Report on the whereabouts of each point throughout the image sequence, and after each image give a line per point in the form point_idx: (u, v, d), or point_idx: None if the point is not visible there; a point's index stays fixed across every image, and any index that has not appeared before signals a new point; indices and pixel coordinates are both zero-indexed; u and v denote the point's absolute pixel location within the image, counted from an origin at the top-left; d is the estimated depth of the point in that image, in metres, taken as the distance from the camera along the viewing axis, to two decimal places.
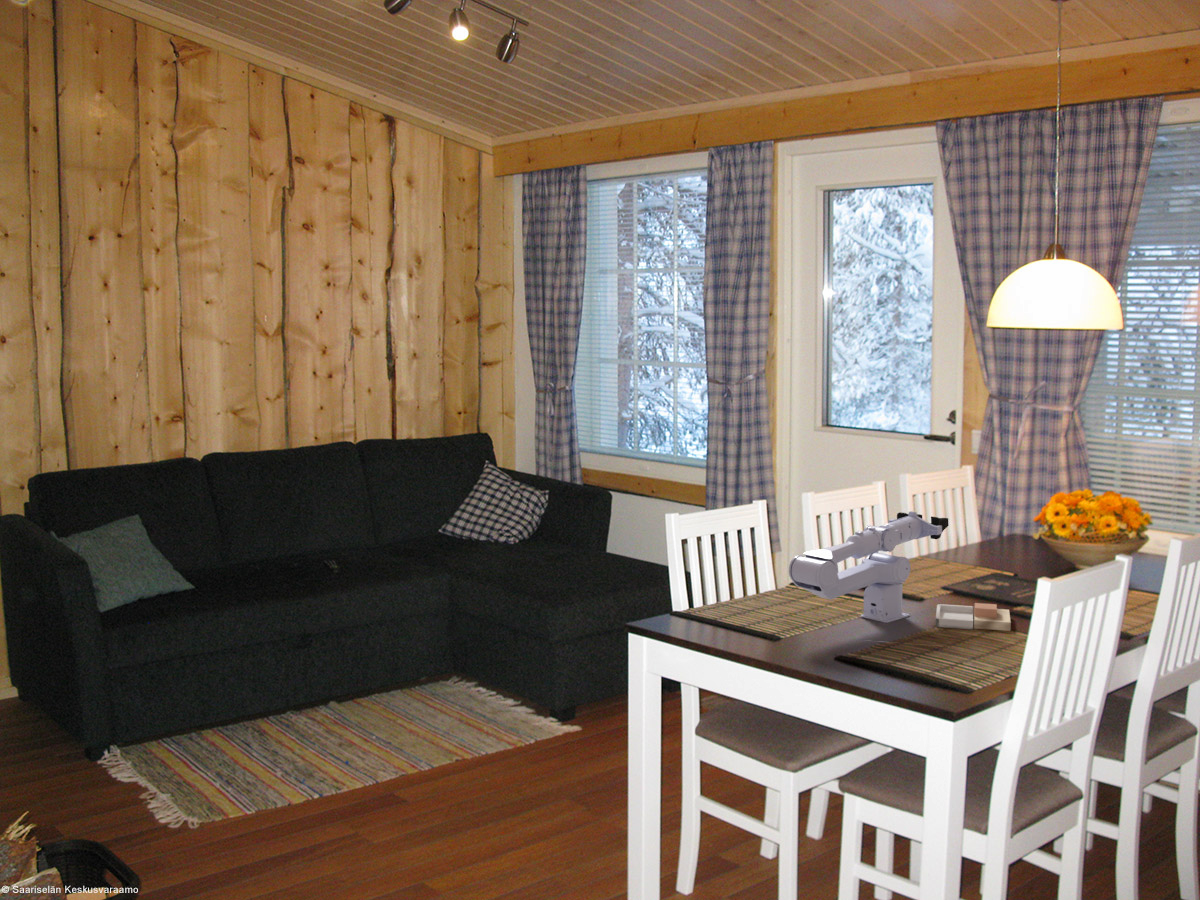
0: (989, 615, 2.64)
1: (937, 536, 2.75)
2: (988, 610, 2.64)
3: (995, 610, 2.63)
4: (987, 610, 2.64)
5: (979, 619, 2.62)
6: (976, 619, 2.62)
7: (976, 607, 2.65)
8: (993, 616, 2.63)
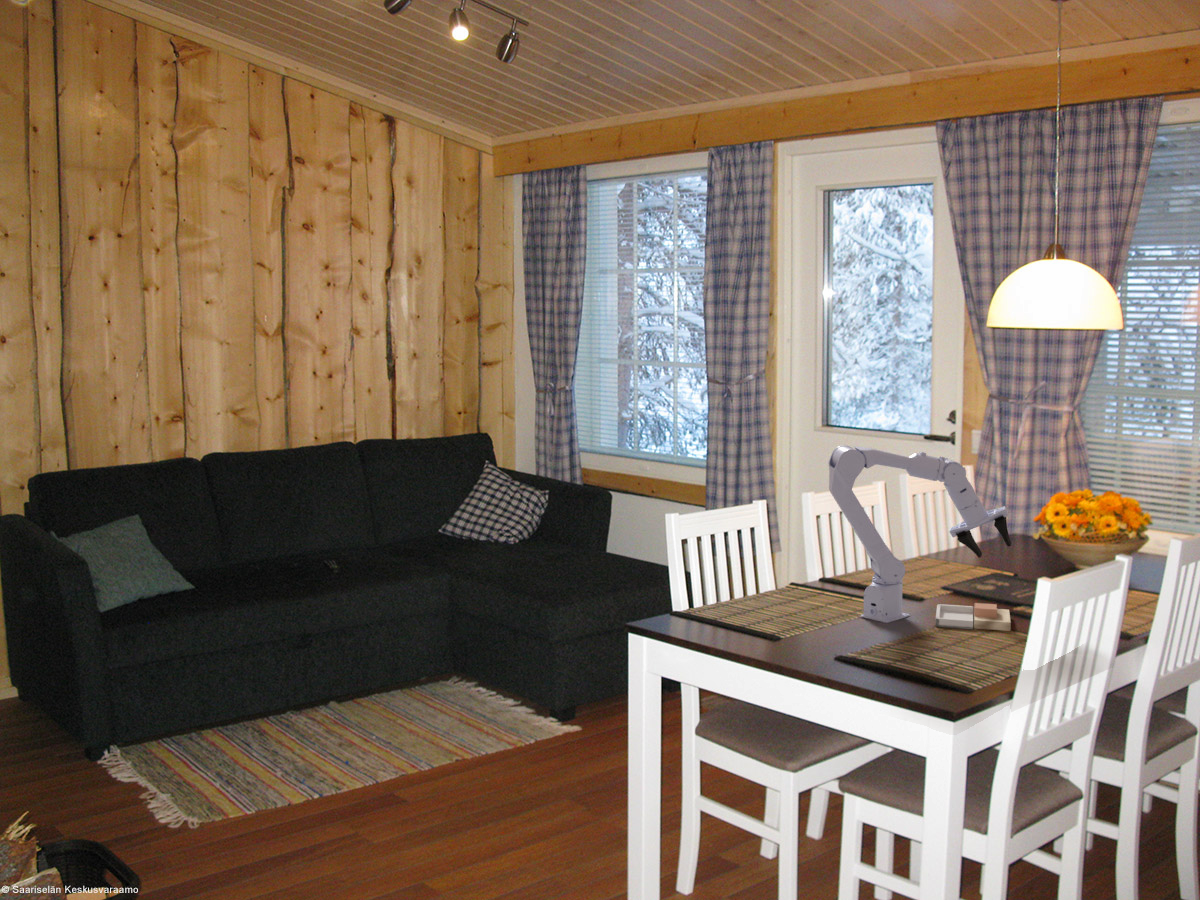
0: (989, 615, 2.64)
1: (1002, 520, 2.67)
2: (988, 610, 2.64)
3: (995, 610, 2.63)
4: (987, 610, 2.64)
5: (979, 619, 2.62)
6: (976, 619, 2.62)
7: (976, 607, 2.65)
8: (993, 616, 2.63)
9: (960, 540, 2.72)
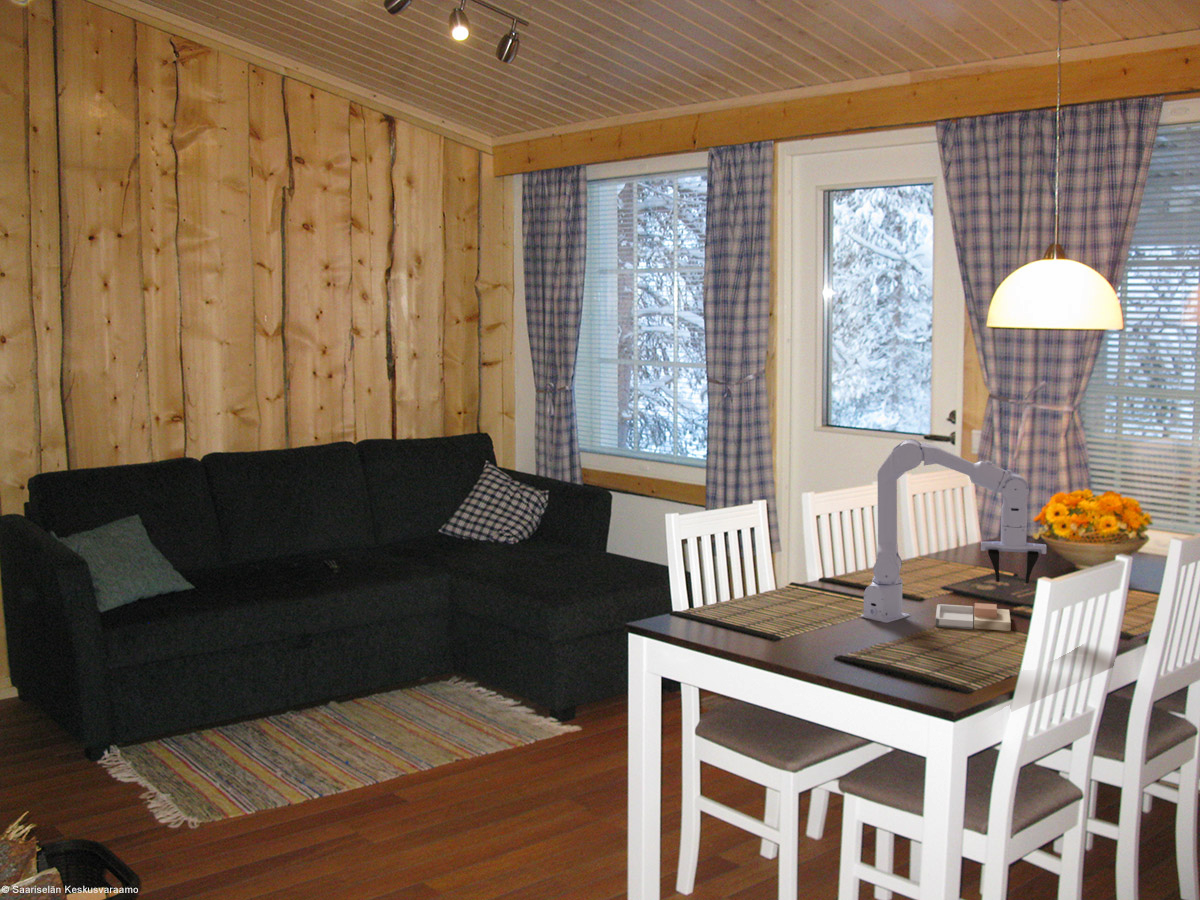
0: (989, 615, 2.64)
1: (1036, 555, 2.59)
2: (988, 610, 2.64)
3: (995, 610, 2.63)
4: (987, 610, 2.64)
5: (979, 619, 2.62)
6: (976, 619, 2.62)
7: (976, 607, 2.65)
8: (993, 616, 2.63)
9: (991, 556, 2.62)
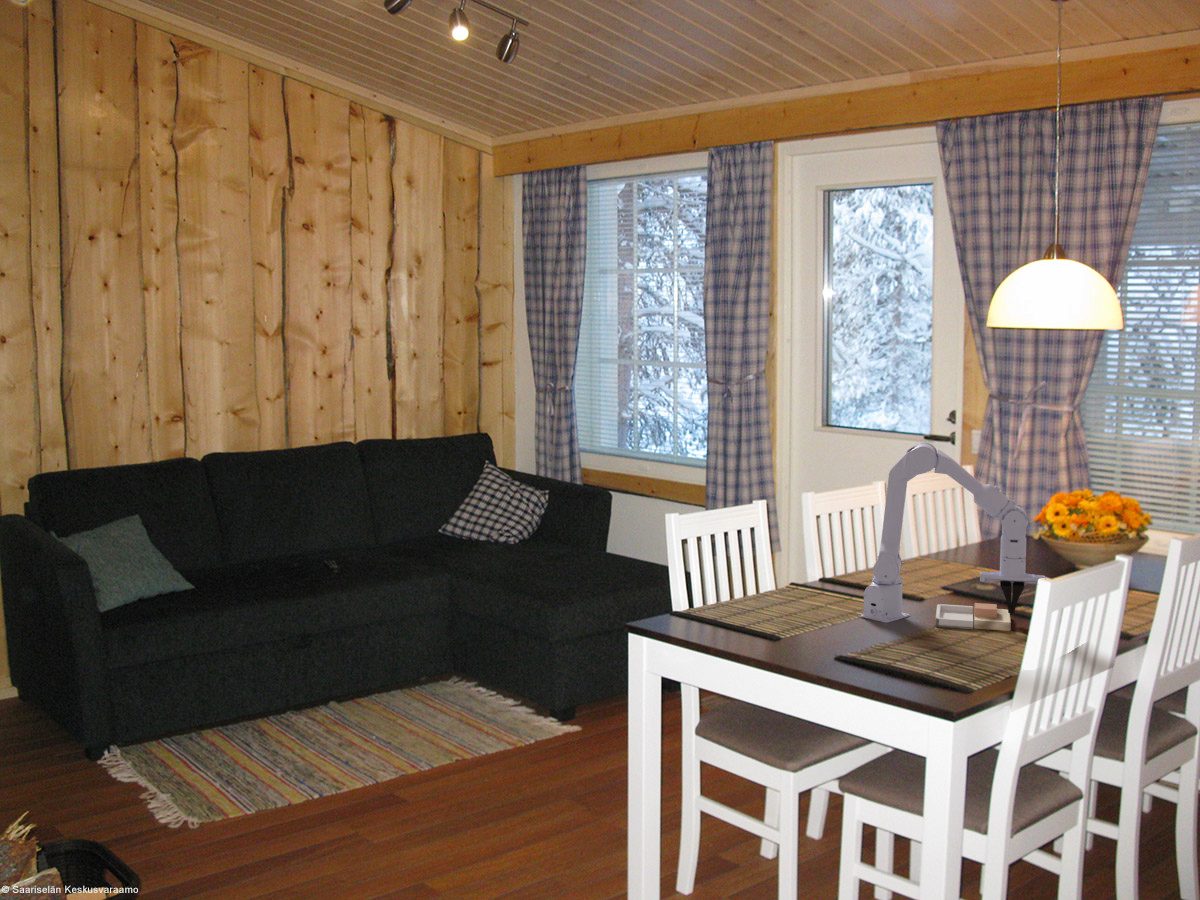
0: (989, 615, 2.64)
1: (1022, 585, 2.61)
2: (988, 610, 2.64)
3: (995, 610, 2.63)
4: (987, 610, 2.64)
5: (979, 619, 2.62)
6: (976, 619, 2.62)
7: (976, 607, 2.65)
8: (993, 616, 2.63)
9: (1003, 587, 2.62)
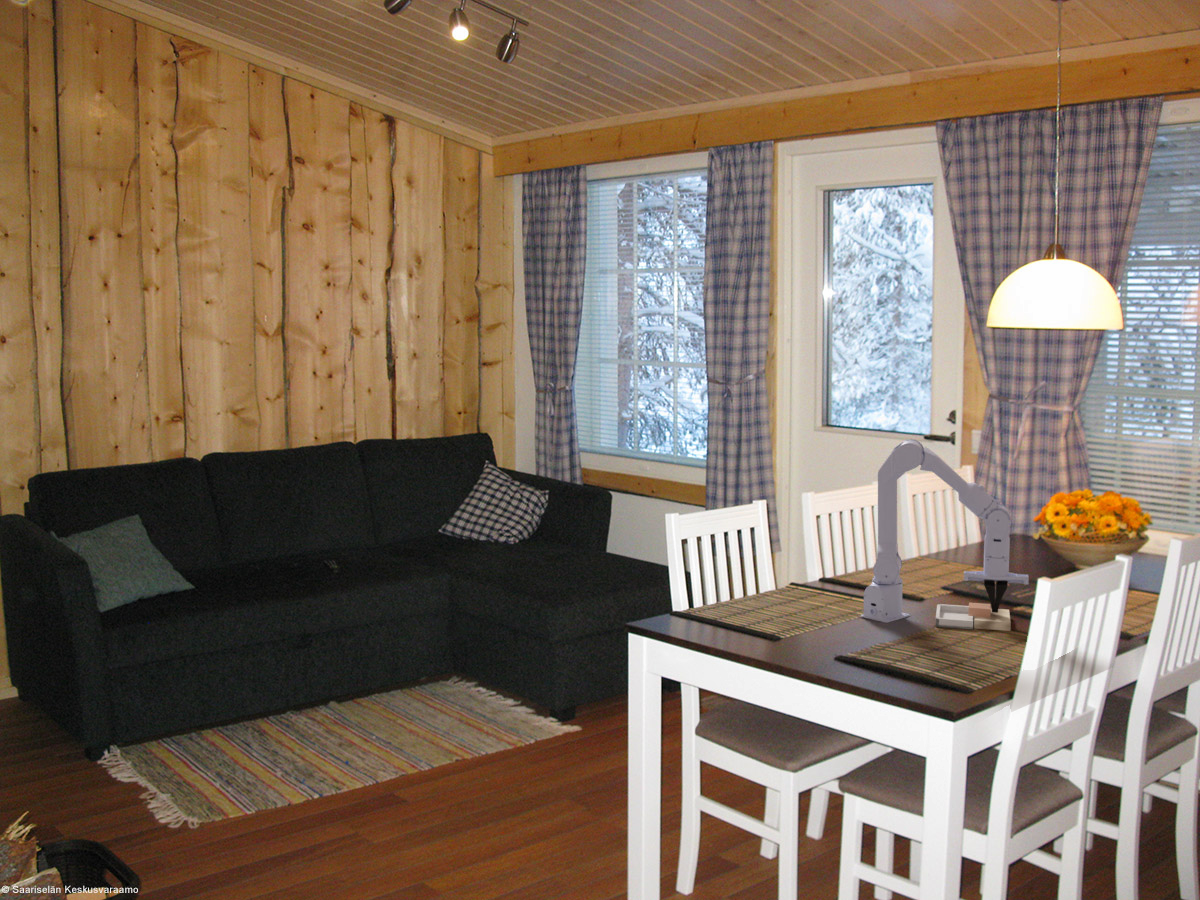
0: (983, 615, 2.64)
1: (1005, 584, 2.62)
2: (982, 610, 2.64)
3: (989, 610, 2.64)
4: (981, 610, 2.64)
5: (979, 619, 2.62)
6: (976, 619, 2.62)
7: (970, 607, 2.66)
8: (987, 616, 2.64)
9: (987, 587, 2.63)
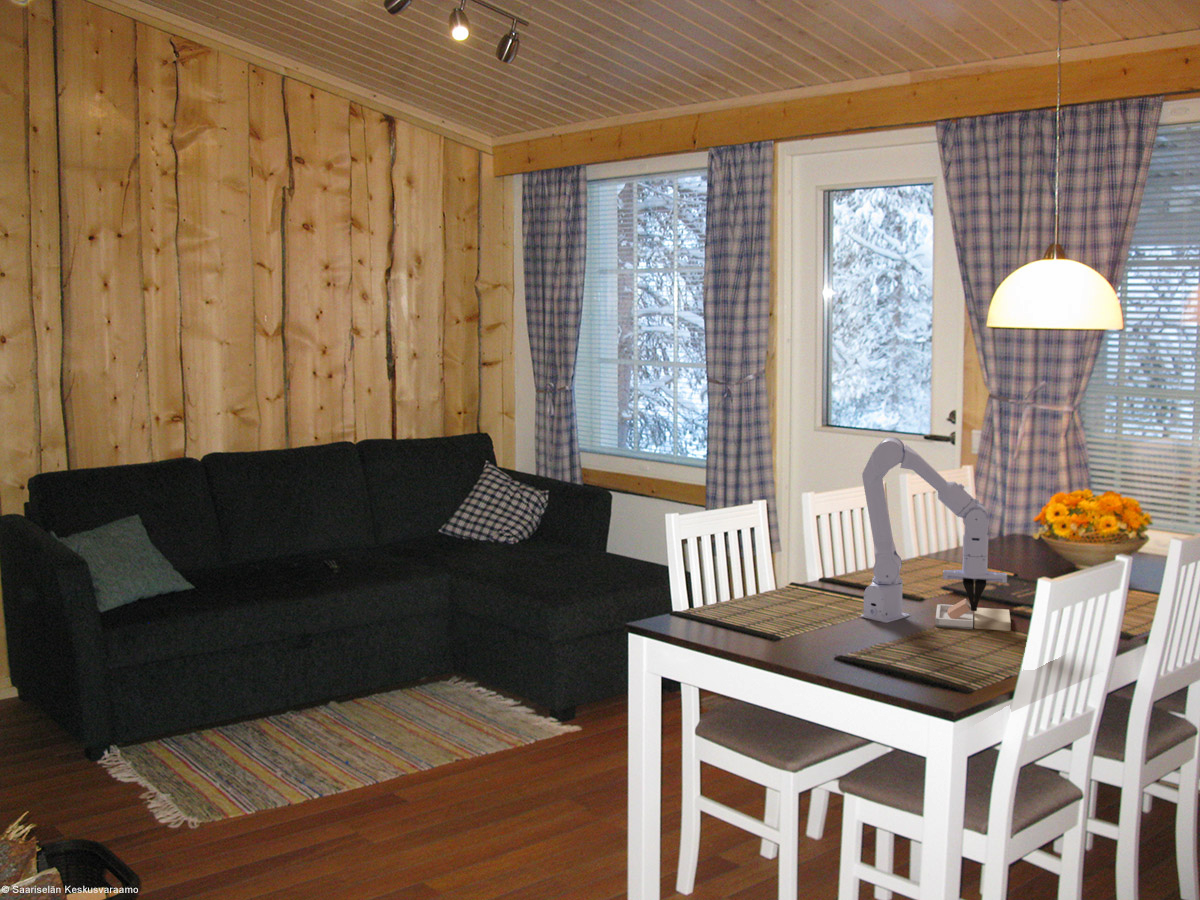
0: (963, 612, 2.65)
1: (984, 583, 2.64)
2: (959, 608, 2.66)
3: (965, 604, 2.65)
4: (958, 609, 2.66)
5: (979, 619, 2.62)
6: (976, 619, 2.62)
7: (949, 612, 2.67)
8: (967, 610, 2.65)
9: (966, 585, 2.64)
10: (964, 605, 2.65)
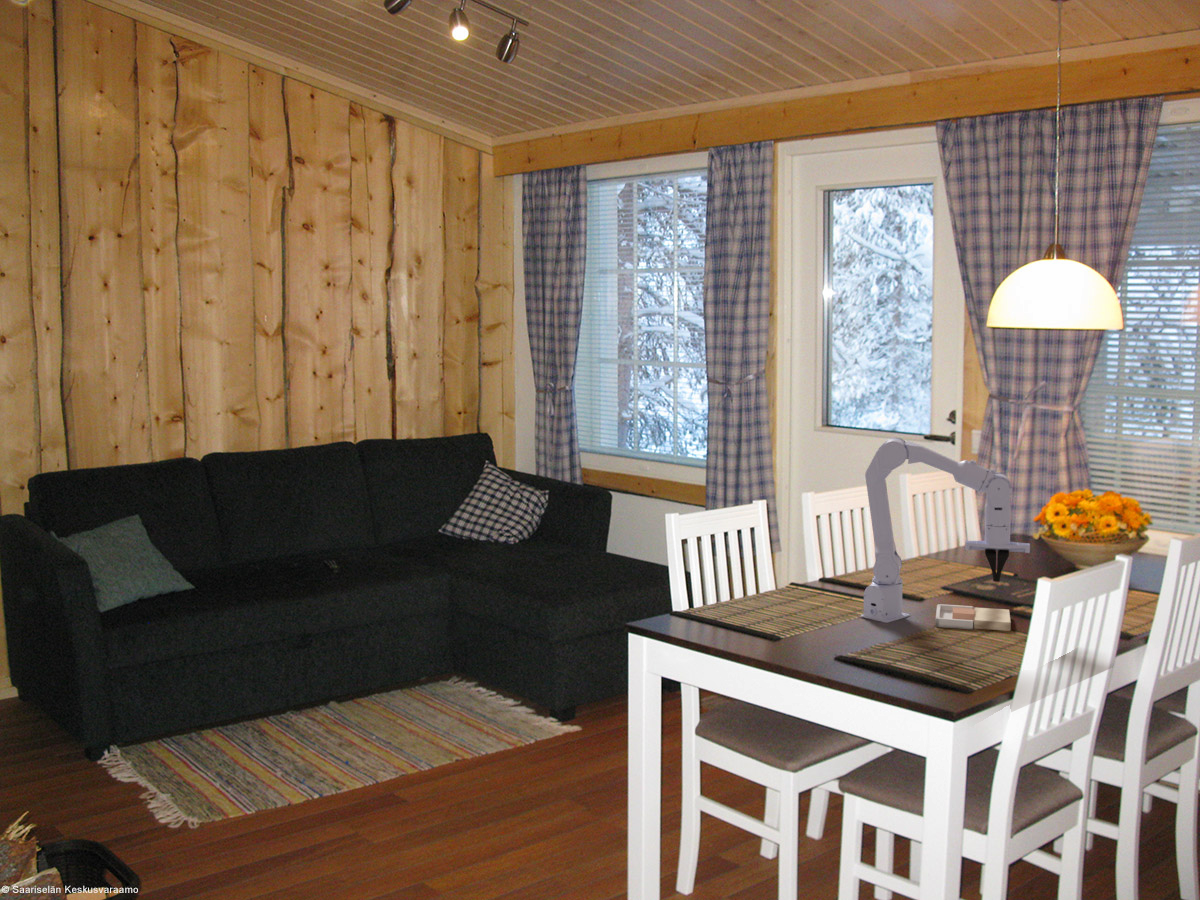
0: None
1: (1007, 553, 2.61)
2: (966, 615, 2.65)
3: (973, 615, 2.65)
4: (965, 615, 2.65)
5: (979, 619, 2.62)
6: (976, 619, 2.62)
7: (954, 612, 2.67)
8: None
9: (988, 555, 2.62)
10: (972, 615, 2.65)
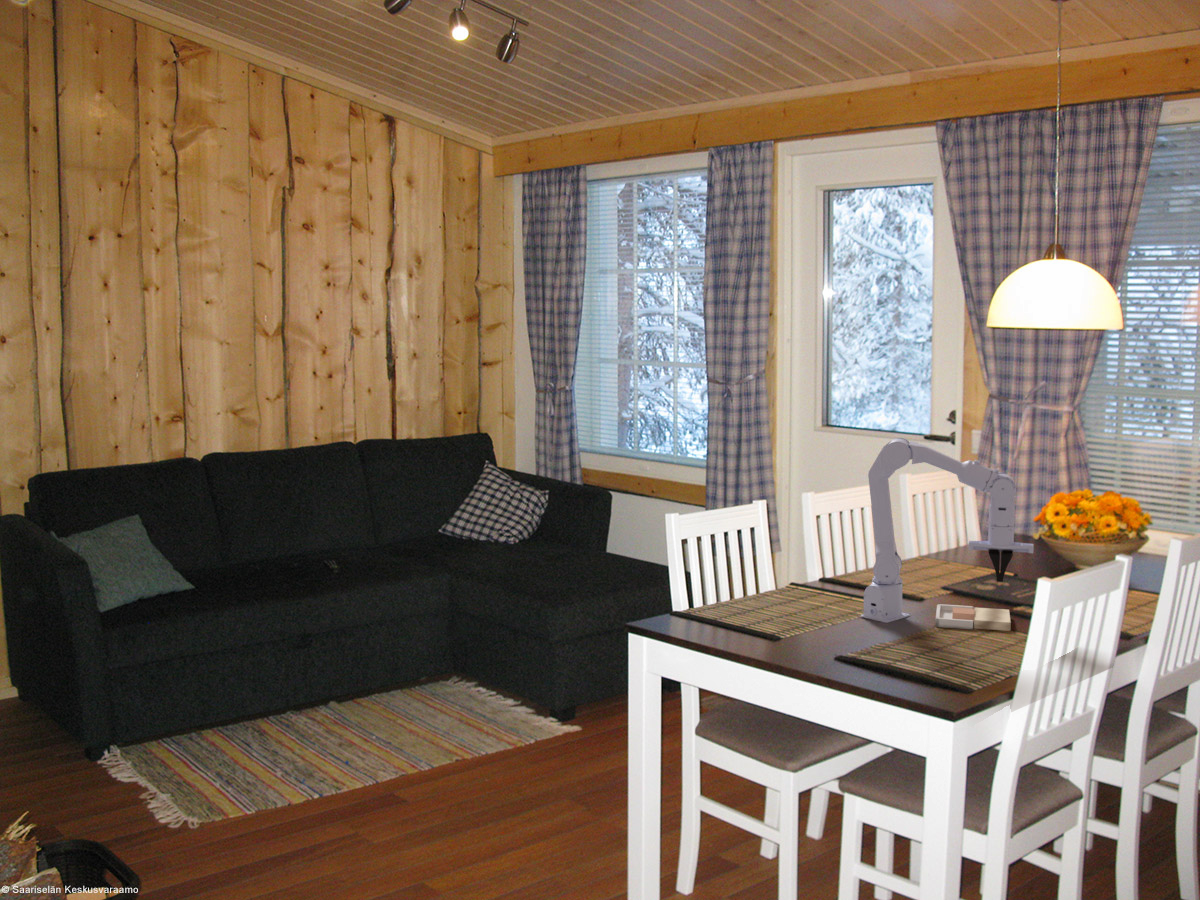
0: None
1: (1010, 553, 2.61)
2: (966, 615, 2.65)
3: (973, 615, 2.65)
4: (965, 615, 2.65)
5: (979, 619, 2.62)
6: (976, 619, 2.62)
7: (954, 612, 2.67)
8: None
9: (992, 556, 2.62)
10: (972, 615, 2.65)
